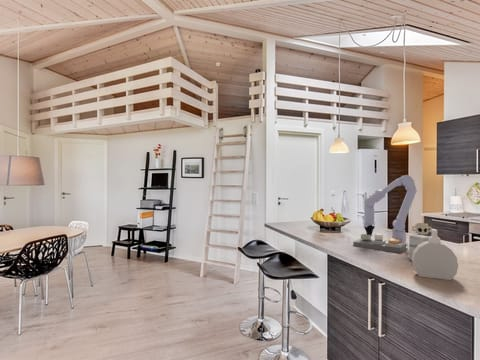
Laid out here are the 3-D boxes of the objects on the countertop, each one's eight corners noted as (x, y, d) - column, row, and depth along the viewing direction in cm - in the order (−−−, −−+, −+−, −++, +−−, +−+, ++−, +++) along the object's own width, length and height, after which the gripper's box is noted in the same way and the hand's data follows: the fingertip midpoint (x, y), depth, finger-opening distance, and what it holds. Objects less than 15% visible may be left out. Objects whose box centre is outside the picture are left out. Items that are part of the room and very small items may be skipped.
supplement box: (408, 259, 154) (408, 235, 154) (417, 257, 157) (417, 233, 157) (422, 263, 147) (422, 237, 147) (431, 261, 150) (432, 236, 150)
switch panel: (361, 242, 195) (361, 235, 195) (405, 248, 178) (405, 241, 178) (353, 245, 185) (353, 238, 185) (399, 252, 167) (399, 245, 167)
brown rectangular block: (393, 242, 180) (393, 237, 180) (402, 244, 177) (402, 239, 177) (388, 245, 173) (388, 240, 173) (397, 246, 170) (397, 241, 170)
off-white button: (376, 238, 184) (376, 233, 184) (383, 239, 181) (383, 234, 181) (373, 239, 180) (373, 234, 180) (381, 240, 177) (381, 235, 177)
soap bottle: (454, 277, 126) (455, 230, 126) (458, 281, 121) (458, 232, 121) (411, 272, 132) (411, 227, 132) (413, 275, 127) (413, 229, 127)
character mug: (412, 244, 190) (413, 223, 190) (410, 242, 197) (411, 222, 197) (432, 245, 186) (433, 224, 186) (430, 243, 193) (430, 223, 193)
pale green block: (362, 238, 192) (362, 233, 192) (370, 239, 189) (370, 234, 189) (360, 238, 190) (360, 234, 190) (368, 240, 187) (369, 235, 187)
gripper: (367, 214, 202) (366, 234, 202) (359, 216, 192) (358, 237, 192) (378, 215, 198) (377, 236, 198) (370, 217, 187) (370, 239, 187)
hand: (369, 236), depth 194 cm, fingers closed
